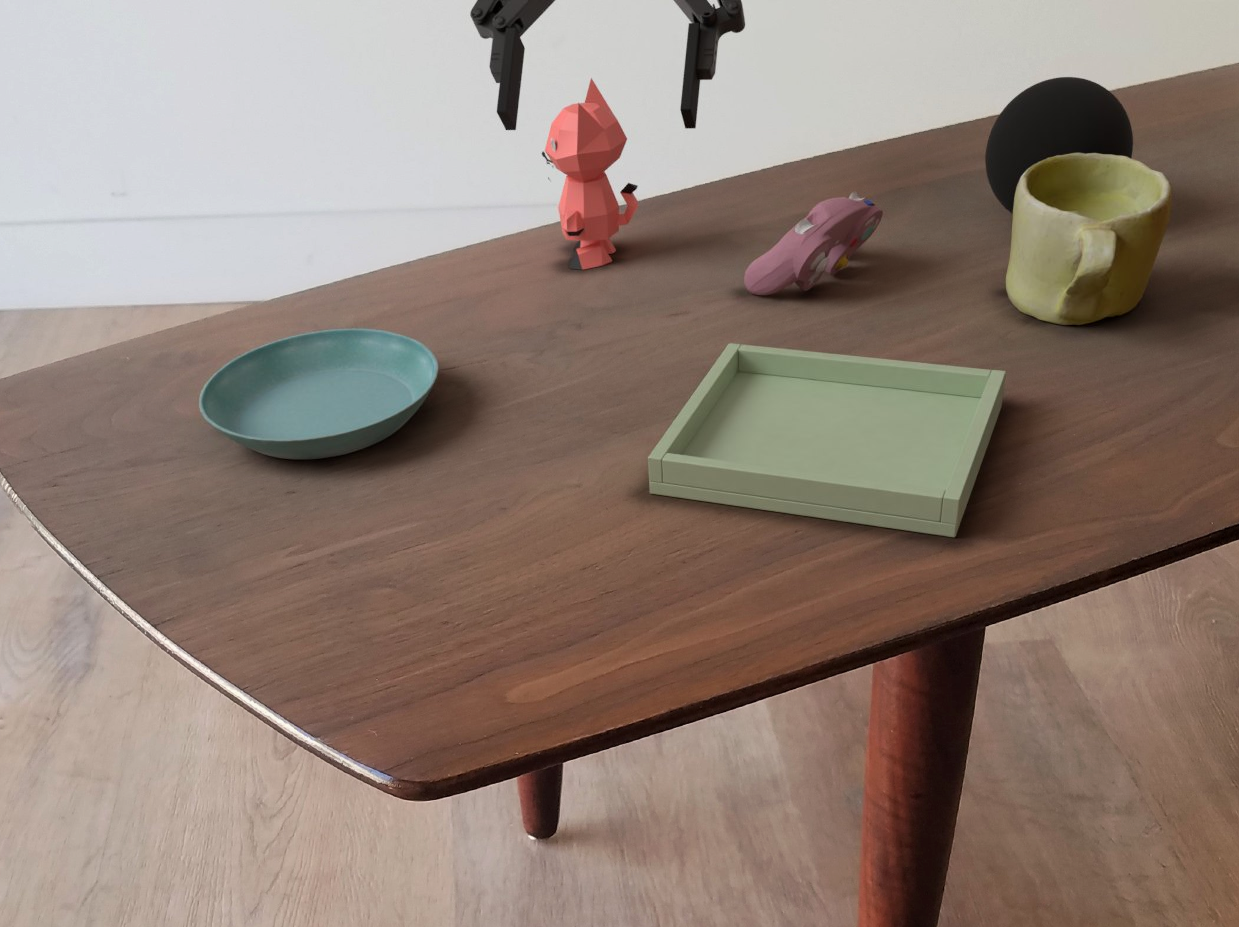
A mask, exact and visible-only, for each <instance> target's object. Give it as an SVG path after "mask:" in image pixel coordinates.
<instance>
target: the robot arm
mask: <svg viewBox="0 0 1239 927" xmlns="http://www.w3.org/2000/svg"><path fill="white" fill-rule="evenodd" d="M555 1H556V0H476V2H475V3H474V5H473V7H472V8H471V10H470V14H469V15H470V18H471V20H472V22H473V24H474V27H475V28H476V30H477V33H478V35H479V36H480V38H482V39H483V40H484V39H485V40H487V39H492V41H491V50H490V57H489V59H490V60H489V70H490V73H491V76H492V77H493V79H494V81H495V84H499V88H498V96H497V104H496V105H497V106H496V114H497V115H498V118H499V120H500V121H501V123H502V125H503V127H504V129H505V131H516V130H517V123H518V114H519V105H520V104H519V103H520V94H521V87H522V77H523V67H524V60H525V49H526V48H525V45H524V43H523V41H522V39H521V37H522V36H523V35H524V34H525V33H526V32H527V31H528V30H529V29H530V28H531V27H532V26H533V24H535V22H536V21H537V20H538V19H539V18H540V17H541V16H542V15H543V14H544V13H545V12H546V11H547V10H548V9H549V8H550V7H551V5H553V4H554V2H555ZM716 1H717V4H718V6H719V7H717V8H716V5H715V3H712V5H711V3H710V2H709V0H673V2H674V3H675V5H676V6H677V7H678V8H679V9H680V10H681V12H682V13H683V14H684V15H685V17H686V18H687V19H688V20H689V21H690V22H689V23H688V27H687V38H686V49H685V58H684V67H683V68H684V69H683V76H682V77H683V78H682V89H681V98H680V113H681V117H682V122H683V125H684V129H685V130H687V129H696V127H697V118H698V116H697V115H698V108H699V107H698V106H699V96H700V86H701V81H710V80H711V81H712V80H713V78H714V77H715V75H716V68H717V58H718V48H719V41H720V39H721V37H722V36H724V35H725V34H728V33H730V32H732V33H735V34H739V33H741V32H742V31H744V29H745V28H746V20H745V19H746V18H745V13H744V12H745V11H744V8H743V2H742V0H716Z"/></svg>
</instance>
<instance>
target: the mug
mask: <svg viewBox="0 0 1239 927" xmlns="http://www.w3.org/2000/svg"><path fill="white" fill-rule="evenodd" d="M1172 195H1173V191H1172V184H1171V182H1170V181H1169V179H1167V177H1166V176H1165V174H1164V173H1163V172H1161V171H1158V170H1154V169H1153V168H1150V167H1149V166H1147V165H1146V164H1145V163H1143V162H1141V161H1140V160H1136V159H1134V158H1129V157H1126V156H1117V155H1111V154H1099V153H1089V154H1084V153H1071V154H1066V155H1057V156H1054V157H1050V158H1047V159H1045V160H1042V161H1040V162H1038V163H1036V164H1034V165H1032V166H1031V167H1030V168H1028V169H1027V170H1026V171H1025V172H1024V174H1023V175H1022V176H1021V178H1020V180H1019V182H1018V185H1017V188H1016V192H1015V197H1014V207H1013V214H1012V225H1011V227H1012V228H1011V241H1010V243H1011V244H1010V253H1009V259H1008V264H1007V270H1006V276H1005V289H1006V293H1007V297H1008V299H1009V301H1010V302H1011V303H1012V305H1013V306H1014V307H1015V308H1016V309H1017V310H1018V311H1019V312H1020V313H1023V314H1024V315H1028V316H1031V317H1033V318H1036V319H1037V320H1040V321H1044V322H1047V323H1051V324H1055V325H1060V326H1061V325H1063V326H1071V325H1073V326H1074V325H1076V326H1080V325H1086V324H1090V323H1094V322H1097V321H1101V320H1102V319H1105V318H1110V317H1111V318H1113V317H1115V316H1122V315H1124V314H1126V313H1129V312H1130V311H1132V310H1134V309H1135V308H1136V307H1137V306H1138V304H1139V303H1140V301H1141V300H1142V298H1143V296H1144V293H1145V291H1146V288H1147V286H1148V283H1149V279H1150V276H1151V273H1152V270H1153V267H1154V265H1155V263H1156V259H1157V256H1158V254H1159V251H1160V248H1161V244H1162V242H1163V239H1164V237H1165V234H1166V231H1167V228H1168V225H1169V221H1170V217H1171V212H1172V201H1173V196H1172Z"/></svg>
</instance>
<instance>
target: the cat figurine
mask: <svg viewBox="0 0 1239 927" xmlns="http://www.w3.org/2000/svg"><path fill="white" fill-rule="evenodd" d="M549 128H550V129H549V131H548V136H547V140H546V144H545V148H544V151H542V152H541V156H542V157H543V158H544V159H545V160H546V165H550V166H551V167H552V169H554V168H555V169H556V170H558V172H559V171H560V172H561V173H563V174H564V175H566V176H565V180H564V184H563V188H562V191H561V196H560V199H559V204H558V207H557V208H558V215H559V220H560V226H561V232H562V234H563V236H564V238H565V240H566V241H577V242H576V244H575V245H574V247H573V250H574V251H573V253H572V255H571V256H570V258H569V260H568V261H567V264H566V265H567V267H568V269H572V270H573V269H575V270H581V271H583V270H588V269H592V268H593V269H594V268H597V267H602V266H604V265H607V264H610V263H612V262H613V260H612V258H611V256H610V254H614V253H615V252H616V251H617V249H616V248H615V245H614V244H613V242H612V240H611V237H613V236H614V235H616V234H617V233H618V232H619V230H620V226H625V225H626V226H627V225H629V223H630V222H631V220H632V218H633V216H634V214H635V213H636V211H637V209H638V207H639V205H640V202H639V200H638V199H637V197H636V195H635V194H634V192H635V191H637V189H638V186H639V185H637V184H634V183H631V182H627V184H626V185H625V186H624V187H623V188H622V189H621V191H620V192H619V193H620V195H621V197H622V198H623V200H624V202H625V203H626V209H625V211H624V213H620V205H619V202H618V200H617V198H616V195H615V193H614V190H613V188H612V185H611V183H610V180H609V178H608V175H607V174H606V172H605V171H607V170H608V169H609V168H610V167H612V165H613V164H615V163H616V162H617V161H618V160H619V159H620V158H621V156H622V153H623V151H624V148H625V146H626V143H627V140H628V138H627V136H626V133H625V132H624V130H623V127H622V125H621V124H620V122H619V120H618V119H617V117H616V116H615V114H614V113H613V111H612V109H611V108H610V106H609V104H608V102H607V101H606V99H605V97H604V96H603V94H602V93H601V91H600V89H599V88H598V86H597V85H596V83H595V81H594V79H593V78H592V77H591V78H590V81H589V85H588V89H587V92H586V96H585V99H584V102H578V103H571V104H569V105H567V106H566V107H563V108H562V109H561V111H560V112H559V113H558V114H557V116H556V117H555V118H554V119H553V121H552V122H551V125H550V127H549ZM546 155H547V156H546ZM552 164H553V165H552ZM547 178H548V180H549V181H551V179H550V177H549V176H547Z"/></svg>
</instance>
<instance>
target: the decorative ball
mask: <svg viewBox="0 0 1239 927" xmlns="http://www.w3.org/2000/svg"><path fill="white" fill-rule="evenodd" d="M1133 137H1134V135H1133V128H1132V124H1131V121H1130V118H1129V116H1128V113H1127V111H1126V109H1125V107H1124V106H1123V104H1122V103H1121V102H1120V100H1119V99H1118V98H1117V97H1116V95H1114V93H1112V92H1111V91H1110V90H1108V89H1107V88H1106V87H1104V86H1102V85H1101V84H1099V83H1097V82H1096V81H1092V80H1089V79H1086V78H1082V77H1077V76H1076V77H1075V76H1074V77H1073V76H1060V77H1054V78H1048V79H1044V80H1042V81H1039V82H1037V83H1035V84H1032V85H1031V86H1029V87H1028V88H1027V87H1026V88H1025V89H1023V90H1022V91H1021V92H1020V93H1019V94H1017V95H1016V96H1015V97H1013V98H1012V100H1011V101H1009V102H1008V103H1007V105H1006V106H1005V107H1004V108H1003V109H1002V111H1001V112H1000V113H999V115H998V117H997V118H996V119H995V121H994V124H993V126H992V128H991V130H990V132H989V135H988V139H987V143H986V146H985V147H986V148H985V158H984V159H985V160H984V161H985V171H986V177H987V180H988V183H989V186H990V189H991V191H992V193H993V194H994V196H995V198H996V199H997V201H998V202H999V203H1000V204H1001V205H1002V207H1003V208H1004V209H1006V211H1008V212H1009V213H1010V214H1012V215H1013V207H1014V197H1015V192H1016V188H1017V185H1018V182H1019V180H1020V178H1021V176H1022V175H1023V174H1024V172H1025V171H1026V170H1027V169H1028V168H1030V167H1031V166H1032V165H1034V164H1036V163H1038V162H1040V161H1042V160H1045V159H1047V158H1050V157H1054V156H1057V155H1066V154H1071V153H1084V154H1089V153H1099V154H1111V155H1117V156H1126V157H1129V158H1131V159H1133V158H1132V157H1133V151H1134V150H1133V149H1134V138H1133Z"/></svg>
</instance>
